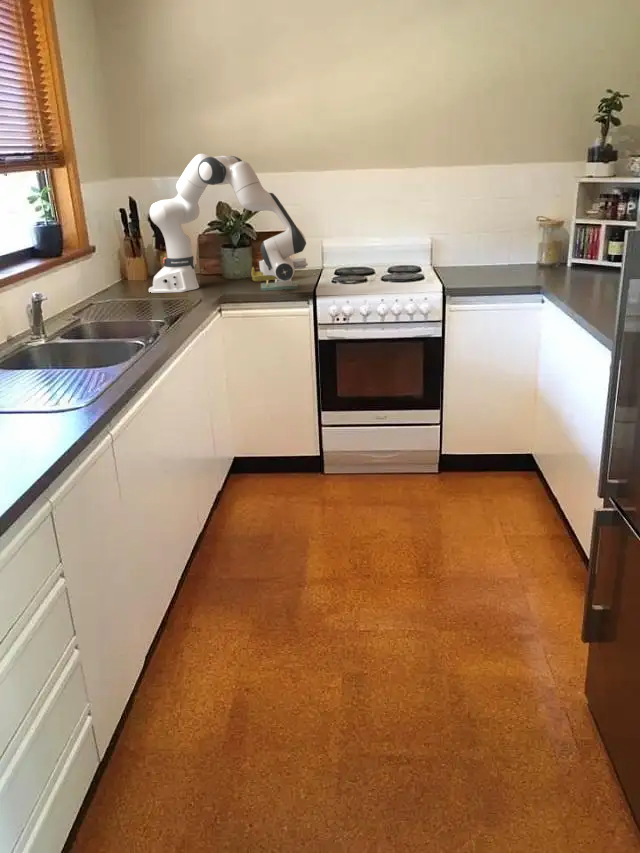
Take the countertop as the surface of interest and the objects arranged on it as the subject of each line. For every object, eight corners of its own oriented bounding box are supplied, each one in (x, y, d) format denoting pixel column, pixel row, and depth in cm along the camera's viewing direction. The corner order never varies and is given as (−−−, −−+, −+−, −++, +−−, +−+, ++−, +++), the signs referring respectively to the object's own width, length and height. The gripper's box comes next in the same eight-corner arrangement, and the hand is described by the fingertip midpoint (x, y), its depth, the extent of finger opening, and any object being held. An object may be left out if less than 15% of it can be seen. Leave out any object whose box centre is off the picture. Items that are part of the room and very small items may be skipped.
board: (261, 290, 317) (260, 283, 316) (260, 286, 328) (260, 278, 327) (297, 288, 318) (297, 281, 317) (296, 284, 329) (296, 276, 328)
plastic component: (250, 277, 339) (252, 264, 346) (254, 290, 345) (255, 277, 352) (292, 272, 337) (293, 260, 344) (295, 285, 342) (296, 273, 349)
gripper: (307, 257, 306) (305, 253, 319) (258, 260, 305) (258, 256, 318) (308, 272, 308) (306, 267, 321) (259, 275, 307) (259, 270, 320)
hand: (282, 261), depth 320 cm, fingers closed on plug, 4 cm apart
